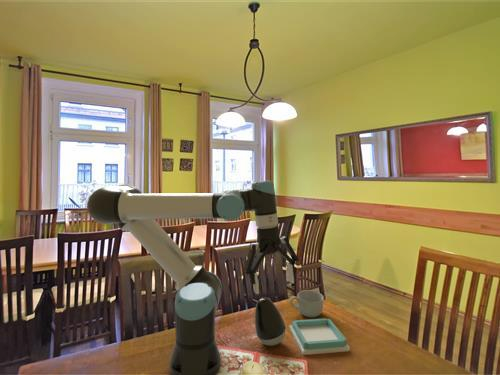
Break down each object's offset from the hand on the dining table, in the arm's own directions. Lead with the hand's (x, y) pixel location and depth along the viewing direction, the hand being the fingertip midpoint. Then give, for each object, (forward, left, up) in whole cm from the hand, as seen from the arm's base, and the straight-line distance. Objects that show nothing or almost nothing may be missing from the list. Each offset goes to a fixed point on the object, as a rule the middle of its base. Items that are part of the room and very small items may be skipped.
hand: (274, 287), depth 99 cm
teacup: (+18, +18, -20) cm, 32 cm away
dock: (+16, 0, -19) cm, 25 cm away
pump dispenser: (0, -1, -19) cm, 18 cm away
